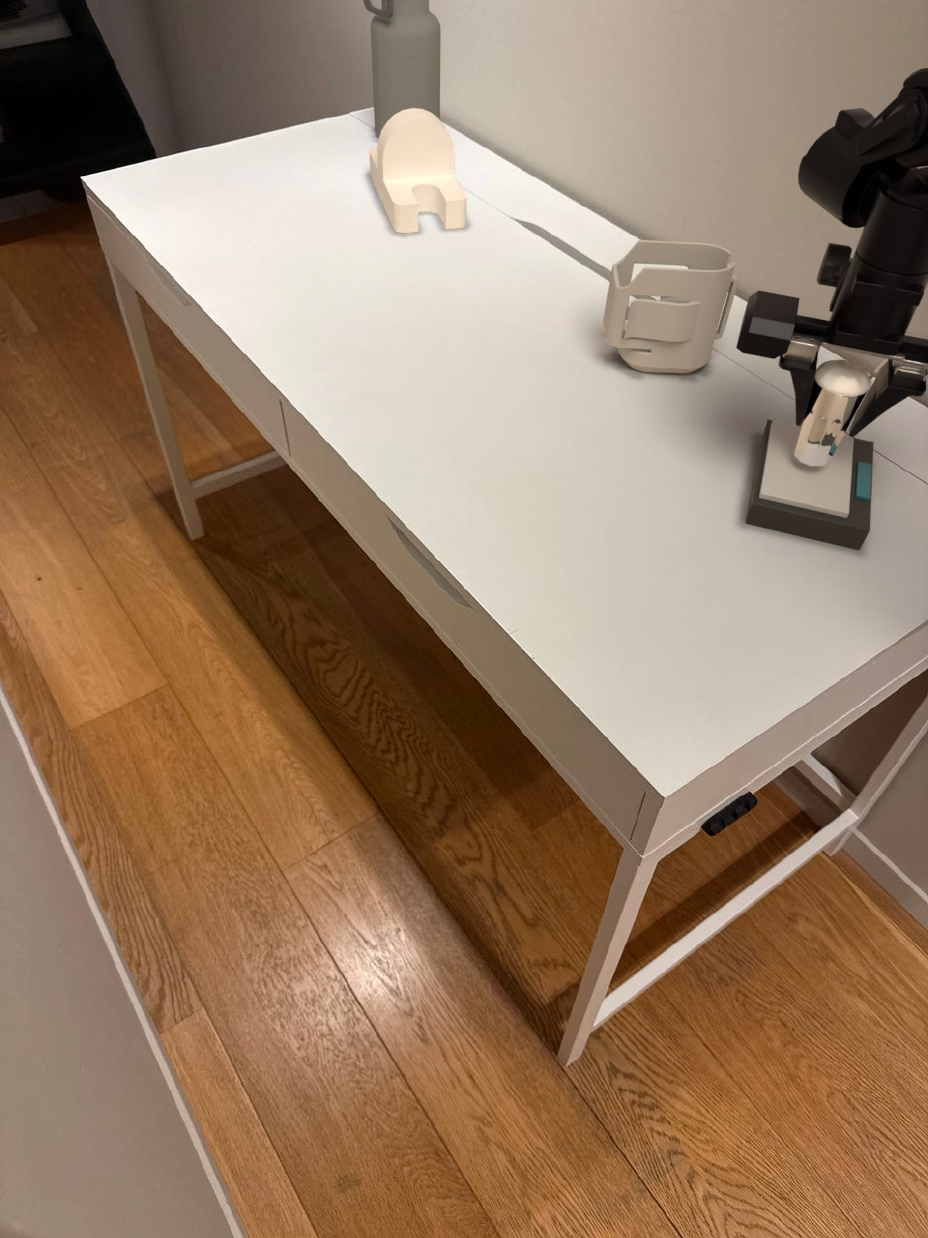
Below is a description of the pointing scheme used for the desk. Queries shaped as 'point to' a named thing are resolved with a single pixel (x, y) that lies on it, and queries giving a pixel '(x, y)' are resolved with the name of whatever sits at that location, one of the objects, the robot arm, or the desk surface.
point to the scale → (812, 489)
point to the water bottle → (404, 58)
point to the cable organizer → (669, 305)
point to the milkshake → (831, 409)
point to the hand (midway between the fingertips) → (824, 428)
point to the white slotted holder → (417, 171)
